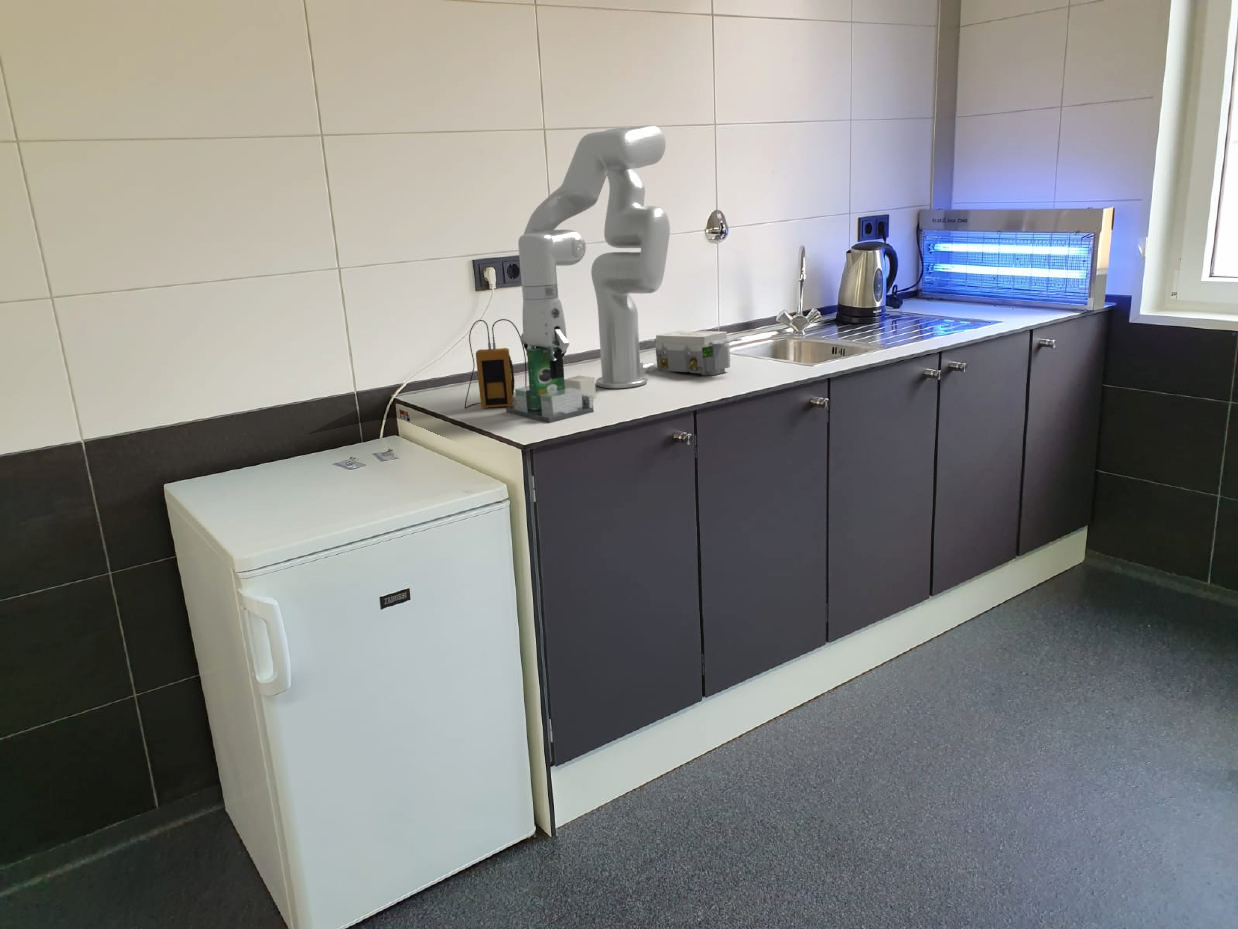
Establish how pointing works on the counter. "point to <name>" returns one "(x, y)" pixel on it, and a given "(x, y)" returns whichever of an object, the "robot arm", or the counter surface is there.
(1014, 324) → the counter surface
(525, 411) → the rail base
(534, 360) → the coffee box
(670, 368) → the grey electrical enclosure
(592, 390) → the block
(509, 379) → the multimeter
